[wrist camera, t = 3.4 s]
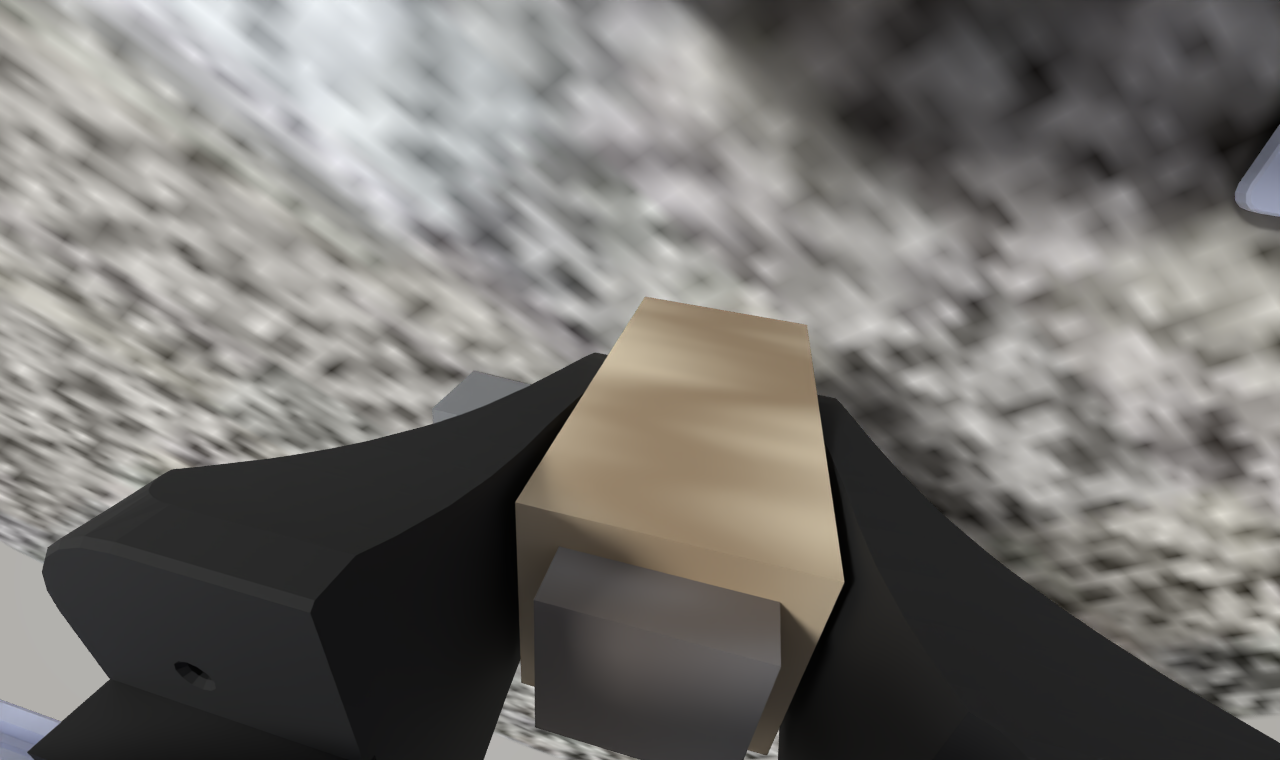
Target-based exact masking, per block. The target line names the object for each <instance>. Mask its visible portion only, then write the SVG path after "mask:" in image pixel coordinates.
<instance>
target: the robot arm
mask: <svg viewBox="0 0 1280 760" xmlns="http://www.w3.org/2000/svg"><path fill="white" fill-rule="evenodd" d="M1235 201H1236V203H1237V204H1238V206H1239V207H1240V208H1243V209H1245V210H1248V211H1251V212H1256V213H1260V214H1266V215H1272V216H1278V217H1280V124H1279V126H1278V127H1277V129H1276V130H1275V132H1274V133H1273V135H1272V136H1271V137H1270V139H1269V140H1268V142H1267V143H1266V145H1265V146H1264V148H1263V149H1262V151H1261V152H1260V153H1259V155H1258V156H1257V158H1256V159H1255V161H1254V162H1253V164H1252V165H1251V166H1250V168H1249V169H1248V171H1247V172H1246V174H1245V175H1244V177H1243V178H1242V179H1241V181H1240V182H1239V184H1238V187H1237V189H1236V191H1235ZM607 356H608V355H605V354H600V353H593V354H590V355H588V356H586V357H584V358H582V359H580V360H578V361H576V362H574V363H572V364H570V365H569V366H567V367H565V368H563V369H561V370H559V371H557V372H555V373H553V374H551V375H549V376H547V377H545V378H543V379H541V380H539V381H537V382H536V383H534V384H532V385H530V386H527V387H525V388H523V389H521V390H519V391H516V392H514V393H512V394H510V395H507V396H505V397H503V398H501V399H498V400H496V401H494V402H492V403H489V404H487V405H485V406H482V407H480V408H477V409H474V410H472V411H469V412H466V413H464V414H461V415H458V416H455V417H452V418H449V419H446V420H443V421H440V422H437V423H434V424H431V425H427V426H424V427H420V428H417V429H413V430H409V431H405V432H401V433H397V434H393V435H390V436H386V437H382V438H378V439H374V440H370V441H366V442H361V443H357V444H352V445H347V446H342V447H337V448H332V449H326V450H321V451H315V452H309V453H303V454H297V455H291V456H284V457H278V458H271V459H263V460H254V461H245V462H237V463H228V464H220V465H211V466H202V467H193V468H182V469H173V470H170V471H168V472H166V473H165V474H163V475H161V476H160V477H158V478H157V479H155V480H153V481H152V482H150V483H149V484H147V485H146V486H144V487H142V488H141V489H139V490H138V491H136V492H135V493H133V494H131V495H130V496H128V497H127V498H125V499H123V500H122V501H120V502H119V503H117V504H116V505H114V506H112V507H111V508H109V509H108V510H106V511H104V512H103V513H101V514H100V515H98V516H96V517H95V518H93V519H91V520H90V521H88V522H87V523H85V524H83V525H82V526H80V527H78V528H77V529H75V530H74V531H72V532H70V533H69V534H67V535H66V536H64V537H62V538H61V539H59V540H58V541H56V542H55V543H54V544H52V545H51V546H49V547H48V549H47V553H46V557H45V561H44V565H43V570H42V574H43V577H44V581H45V585H46V588H47V591H48V593H49V594H50V596H51V597H52V599H53V601H54V603H55V604H56V606H57V608H58V609H59V611H60V612H61V614H62V615H63V616H64V617H65V619H66V620H67V622H68V623H69V624H70V626H71V627H72V628H73V630H74V631H75V633H76V634H77V635H78V637H79V638H80V639H81V641H82V642H83V643H84V645H85V646H86V647H87V649H88V650H89V652H90V653H91V654H92V656H93V657H94V658H95V659H96V661H97V662H98V664H99V665H100V666H101V668H102V669H103V671H104V672H105V673H106V674H107V676H108V677H109V678H110V680H109V681H107V682H106V683H105V684H104V685H103V686H102V687H101V688H99V689H98V690H97V691H96V692H95V693H94V694H93V695H92V696H90V697H89V698H88V699H87V700H86V701H85V702H83V703H82V704H81V705H80V706H79V707H78V708H77V709H76V710H74V711H73V712H72V713H71V714H70V715H69V716H67V718H65V719H64V720H63V721H62V722H61V721H59V720H56V719H53V718H50V717H47V716H45V715H42V714H39V713H37V712H34V711H31V710H28V709H25V708H23V707H20V706H17V705H15V704H11V703H9V702H6V701H3V700H1V699H0V760H484V757H485V754H486V751H487V749H488V746H489V743H490V740H491V737H492V735H493V732H494V729H495V726H496V724H497V721H498V718H499V715H500V713H501V710H502V707H503V704H504V702H505V699H506V696H507V693H508V691H509V688H510V685H511V683H512V680H513V677H514V675H515V672H516V670H517V667H518V664H519V662H520V659H521V656H520V627H519V598H518V569H517V540H516V511H515V502H516V500H517V499H518V497H519V495H520V494H521V492H522V491H523V489H524V487H525V486H526V484H527V483H528V481H529V480H530V478H531V476H532V475H533V473H534V472H535V470H536V468H537V467H538V465H539V464H540V462H541V461H542V459H543V457H544V456H545V454H546V453H547V451H548V450H549V448H550V446H551V445H552V443H553V442H554V440H555V438H556V437H557V435H558V434H559V432H560V431H561V429H562V427H563V426H564V424H565V423H566V421H567V419H568V418H569V416H570V415H571V413H572V412H573V410H574V408H575V407H576V405H577V404H578V402H579V400H580V399H581V397H582V396H583V394H584V393H585V391H586V389H587V388H588V386H589V385H590V383H591V382H592V380H593V378H594V377H595V375H596V374H597V372H598V370H599V369H600V367H601V366H602V364H603V363H604V361H605V359H606V358H607ZM817 398H818V405H819V412H820V418H821V425H822V432H823V439H824V446H825V453H826V459H827V466H828V473H829V480H830V487H831V494H832V500H833V507H834V514H835V521H836V528H837V535H838V542H839V548H840V555H841V562H842V569H843V576H844V584H843V586H842V589H841V591H840V593H839V595H838V598H837V600H836V602H835V604H834V607H833V609H832V611H831V613H830V616H829V618H828V620H827V622H826V624H825V627H824V629H823V631H822V633H821V636H820V638H819V640H818V642H817V645H816V647H815V649H814V651H813V654H812V656H811V658H810V660H809V663H808V665H807V667H806V669H805V671H804V674H803V676H802V678H801V680H800V683H799V685H798V687H797V689H796V692H795V694H794V696H793V698H792V701H791V703H790V705H789V707H788V710H787V712H786V714H785V716H784V719H783V721H782V723H781V725H780V728H779V749H778V760H1280V743H1279V742H1277V741H1276V740H1274V739H1272V738H1270V737H1269V736H1267V735H1265V734H1263V733H1262V732H1260V731H1258V730H1257V729H1255V728H1253V727H1251V726H1250V725H1248V724H1246V723H1245V722H1243V721H1241V720H1239V719H1238V718H1236V717H1234V716H1232V715H1231V714H1229V713H1227V712H1226V711H1224V710H1222V709H1220V708H1219V707H1217V706H1215V705H1213V704H1212V703H1210V702H1208V701H1207V700H1205V699H1203V698H1201V697H1200V696H1198V695H1196V694H1195V693H1193V692H1191V691H1189V690H1188V689H1186V688H1184V687H1182V686H1181V685H1179V684H1177V683H1176V682H1174V681H1173V680H1171V679H1169V678H1168V677H1166V676H1164V675H1163V674H1161V673H1160V672H1158V671H1156V670H1155V669H1153V668H1152V667H1150V666H1149V665H1147V664H1146V663H1144V662H1142V661H1141V660H1139V659H1138V658H1136V657H1135V656H1133V655H1132V654H1130V653H1128V652H1127V651H1125V650H1124V649H1122V648H1121V647H1119V646H1118V645H1116V644H1114V643H1113V642H1111V641H1110V640H1108V639H1107V638H1105V637H1104V636H1102V635H1100V634H1099V633H1097V632H1096V631H1094V630H1093V629H1091V628H1090V627H1089V626H1087V625H1086V624H1084V623H1083V622H1081V621H1080V620H1078V619H1077V618H1075V617H1074V616H1072V615H1071V614H1069V613H1068V612H1067V611H1065V610H1064V609H1062V608H1061V607H1059V606H1058V605H1056V604H1055V603H1054V602H1052V601H1051V600H1050V599H1048V598H1047V597H1046V596H1044V595H1043V594H1041V593H1040V592H1039V591H1037V590H1036V589H1035V588H1033V587H1032V586H1031V585H1029V584H1028V583H1027V582H1025V581H1024V580H1022V579H1021V578H1020V577H1018V576H1017V575H1016V574H1014V573H1013V572H1012V571H1010V570H1009V569H1008V568H1006V567H1005V566H1004V565H1003V564H1001V563H1000V562H999V561H997V560H996V559H995V558H994V557H992V556H991V555H990V554H989V553H987V552H986V551H985V550H984V549H982V548H981V547H980V546H979V545H978V544H977V543H975V542H974V541H973V540H972V539H971V538H970V537H968V536H967V535H966V534H965V533H964V532H963V531H961V530H960V529H959V528H958V527H957V526H955V525H954V524H953V523H952V522H951V521H950V520H949V519H947V518H946V517H945V516H944V515H943V514H942V513H941V512H940V511H939V510H938V509H937V508H935V507H934V506H933V505H932V504H931V503H930V502H929V501H928V500H927V499H926V498H925V497H924V496H923V495H922V494H921V493H920V492H919V491H918V490H917V489H916V488H915V487H914V486H913V485H912V484H911V483H910V482H909V481H908V480H907V479H906V478H905V477H904V476H903V475H902V474H901V472H900V471H899V470H898V469H897V468H896V467H895V466H894V465H893V464H892V463H891V462H890V461H889V459H888V458H887V457H886V456H885V455H884V454H883V453H882V452H881V450H880V449H879V448H878V447H877V446H876V445H875V444H874V442H873V441H872V440H871V439H870V438H869V437H868V435H867V434H866V433H865V432H864V431H863V429H862V428H861V427H860V426H859V425H858V423H857V422H856V421H855V420H854V419H853V417H852V416H851V415H850V414H849V413H848V411H847V410H846V409H845V408H844V407H843V406H842V405H841V403H840V402H839V401H838V400H837V399H836V398H831V397H825V396H820V395H817Z"/></svg>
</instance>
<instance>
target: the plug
mask: <svg viewBox="0 0 1280 760" xmlns="http://www.w3.org/2000/svg"><path fill="white" fill-rule="evenodd" d="M515 511H516V540H517V569H518V598H519V627H520V656H521V683H524V684H527V685H530V686H534V687H535V727H536V728H539V729H542V730H546V731H549V732H552V733H555V734H559V735H562V736H565V737H568V738H572V739H575V740H578V741H581V742H585V743H588V744H591V745H594V746H598V747H601V748H604V749H607V750H611V751H614V752H617V753H620V754H624V755H627V756H630V757H633V758H637V759H640V760H744V757H745V755H746V752H747V750H750V751H753V752H757V753H760V754H763V755H767V754H768V752H769V750H770V748H771V745H772V743H773V741H774V739H775V736H776V734H777V732H778V730H779V727H780V725H781V723H782V721H783V719H784V716H785V714H786V712H787V710H788V707H789V705H790V703H791V701H792V698H793V696H794V694H795V692H796V689H797V687H798V685H799V683H800V680H801V678H802V676H803V674H804V671H805V669H806V667H807V665H808V663H809V660H810V658H811V656H812V654H813V651H814V649H815V647H816V645H817V642H818V640H819V638H820V636H821V633H822V631H823V629H824V627H825V624H826V622H827V620H828V618H829V616H830V613H831V611H832V609H833V607H834V604H835V602H836V600H837V598H838V595H839V593H840V591H841V589H842V586H843V584H844V576H843V569H842V562H841V555H840V548H839V542H838V535H837V528H836V521H835V514H834V507H833V500H832V494H831V487H830V480H829V473H828V466H827V459H826V453H825V446H824V439H823V432H822V425H821V418H820V412H819V405H818V398H817V391H816V384H815V377H814V370H813V364H812V357H811V350H810V343H809V336H808V329H807V325H804V324H799V323H793V322H787V321H781V320H776V319H770V318H764V317H758V316H753V315H747V314H741V313H735V312H730V311H724V310H718V309H712V308H707V307H701V306H695V305H690V304H684V303H678V302H672V301H667V300H661V299H655V298H649V297H645V298H644V299H643V301H642V302H641V304H640V306H639V307H638V309H637V310H636V312H635V314H634V315H633V317H632V318H631V320H630V321H629V323H628V325H627V326H626V328H625V329H624V331H623V333H622V334H621V336H620V337H619V339H618V340H617V342H616V344H615V345H614V347H613V348H612V350H611V351H610V353H609V355H608V356H607V358H606V359H605V361H604V363H603V364H602V366H601V367H600V369H599V370H598V372H597V374H596V375H595V377H594V378H593V380H592V382H591V383H590V385H589V386H588V388H587V389H586V391H585V393H584V394H583V396H582V397H581V399H580V400H579V402H578V404H577V405H576V407H575V408H574V410H573V412H572V413H571V415H570V416H569V418H568V419H567V421H566V423H565V424H564V426H563V427H562V429H561V431H560V432H559V434H558V435H557V437H556V438H555V440H554V442H553V443H552V445H551V446H550V448H549V450H548V451H547V453H546V454H545V456H544V457H543V459H542V461H541V462H540V464H539V465H538V467H537V468H536V470H535V472H534V473H533V475H532V476H531V478H530V480H529V481H528V483H527V484H526V486H525V487H524V489H523V491H522V492H521V494H520V495H519V497H518V499H517V500H516V502H515Z"/></svg>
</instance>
